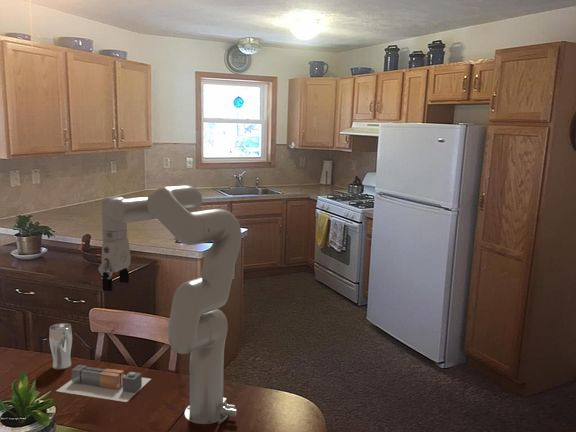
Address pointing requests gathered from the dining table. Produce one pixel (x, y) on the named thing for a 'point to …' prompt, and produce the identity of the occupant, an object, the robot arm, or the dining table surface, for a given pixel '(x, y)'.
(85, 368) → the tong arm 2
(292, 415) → the dining table surface
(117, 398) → the white board with blocks
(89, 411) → the dining table surface
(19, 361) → the dining table surface
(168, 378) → the dining table surface
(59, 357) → the beer glass
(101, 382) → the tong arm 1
